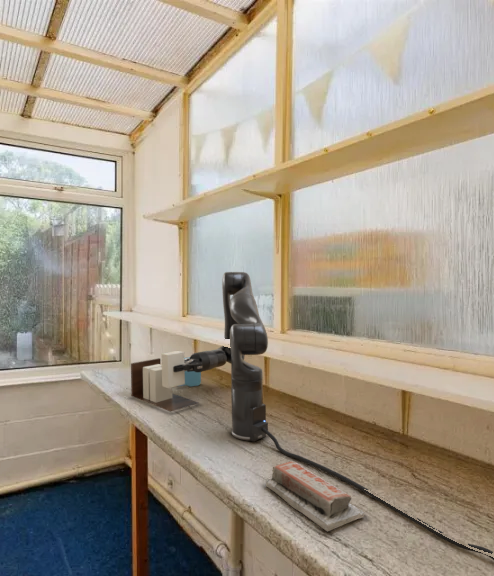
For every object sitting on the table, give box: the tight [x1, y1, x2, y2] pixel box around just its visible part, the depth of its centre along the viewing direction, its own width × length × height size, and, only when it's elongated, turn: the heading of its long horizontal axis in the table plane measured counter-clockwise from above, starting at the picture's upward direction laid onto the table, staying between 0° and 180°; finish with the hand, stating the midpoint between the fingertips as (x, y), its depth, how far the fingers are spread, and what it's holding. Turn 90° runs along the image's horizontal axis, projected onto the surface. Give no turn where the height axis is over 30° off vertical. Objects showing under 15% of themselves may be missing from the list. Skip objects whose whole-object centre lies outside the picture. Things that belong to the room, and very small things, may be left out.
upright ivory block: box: [161, 350, 185, 389], centre depth 141 cm, size 4×8×12 cm, turn 130°
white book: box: [143, 363, 162, 400], centre depth 150 cm, size 4×8×12 cm, turn 130°
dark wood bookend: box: [130, 357, 200, 412], centre depth 147 cm, size 25×14×14 cm, turn 40°
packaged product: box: [265, 461, 365, 532], centre depth 80 cm, size 18×5×10 cm
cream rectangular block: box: [150, 367, 173, 403], centre depth 147 cm, size 4×8×12 cm, turn 130°
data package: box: [178, 356, 202, 388], centre depth 169 cm, size 12×4×12 cm, turn 113°
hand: (170, 368), depth 140 cm, fingers closed on upright ivory block, 3 cm apart
